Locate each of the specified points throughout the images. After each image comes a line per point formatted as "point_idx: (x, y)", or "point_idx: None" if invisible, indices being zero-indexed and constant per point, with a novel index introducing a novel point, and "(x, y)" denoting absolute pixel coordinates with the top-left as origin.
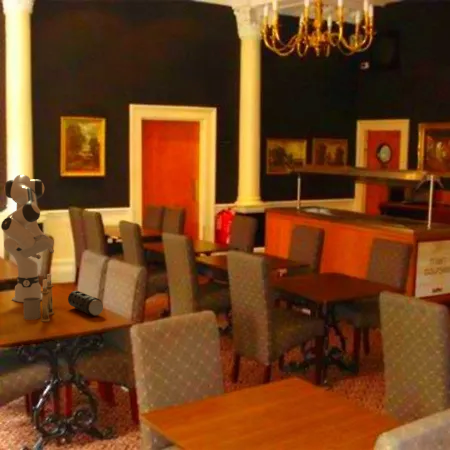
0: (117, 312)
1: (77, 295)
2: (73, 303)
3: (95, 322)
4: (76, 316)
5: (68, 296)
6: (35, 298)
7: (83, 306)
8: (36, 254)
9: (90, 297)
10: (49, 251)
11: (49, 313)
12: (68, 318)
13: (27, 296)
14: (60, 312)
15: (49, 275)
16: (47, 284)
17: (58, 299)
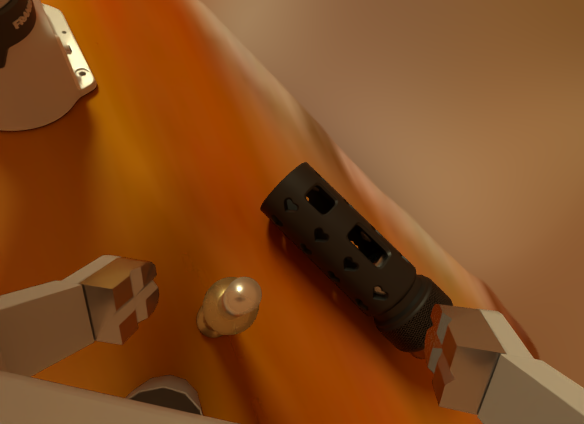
0: (423, 242)
1: (332, 238)
2: (302, 250)
3: (440, 407)
4: (336, 332)
5: (266, 199)
6: (158, 387)
7: (383, 326)
8: (53, 297)
9: (426, 306)
10: (445, 396)
11: (221, 335)
12: (324, 376)
13: (12, 108)
14: None
15: (253, 309)
16: (225, 317)
17: (153, 79)
